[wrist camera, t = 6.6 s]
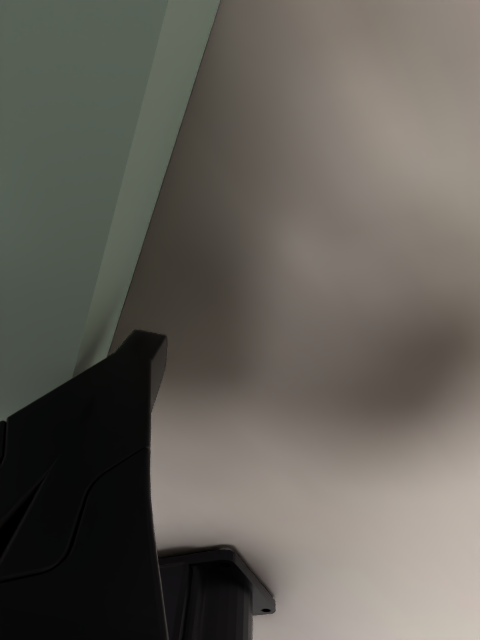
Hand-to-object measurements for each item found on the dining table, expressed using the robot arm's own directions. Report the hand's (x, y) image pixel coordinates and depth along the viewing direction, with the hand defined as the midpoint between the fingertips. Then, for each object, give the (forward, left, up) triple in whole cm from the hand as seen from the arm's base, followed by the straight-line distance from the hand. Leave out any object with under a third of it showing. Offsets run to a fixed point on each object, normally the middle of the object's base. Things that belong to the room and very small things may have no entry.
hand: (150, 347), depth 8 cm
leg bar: (+2, +1, -1) cm, 3 cm away
